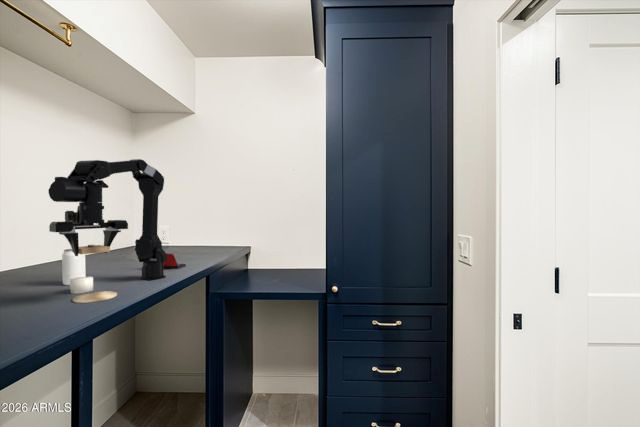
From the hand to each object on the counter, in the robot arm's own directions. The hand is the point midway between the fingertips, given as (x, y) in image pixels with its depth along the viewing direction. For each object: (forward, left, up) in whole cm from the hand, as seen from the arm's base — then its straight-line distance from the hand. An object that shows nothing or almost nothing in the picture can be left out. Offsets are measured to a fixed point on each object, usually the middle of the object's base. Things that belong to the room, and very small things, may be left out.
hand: (91, 254), depth 99 cm
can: (-4, -24, -13) cm, 28 cm away
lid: (0, 0, +1) cm, 1 cm away
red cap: (-39, -24, -13) cm, 47 cm away
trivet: (0, +2, -13) cm, 13 cm away
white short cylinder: (-1, -10, -13) cm, 16 cm away
